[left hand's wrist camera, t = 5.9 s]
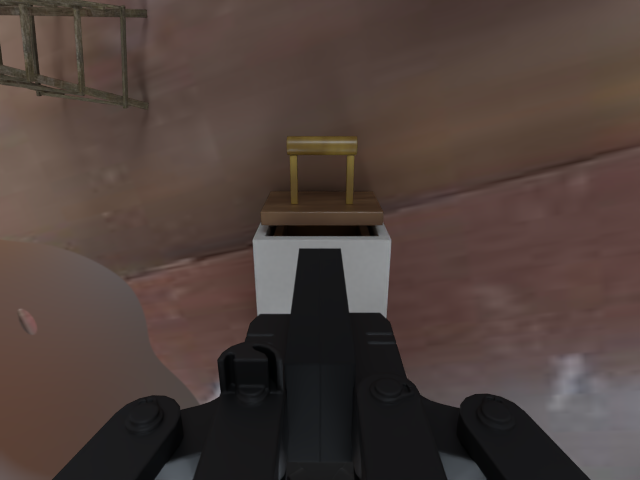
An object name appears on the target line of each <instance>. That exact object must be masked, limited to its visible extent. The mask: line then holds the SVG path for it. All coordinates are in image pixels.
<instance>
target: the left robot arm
mask: <svg viewBox="0 0 640 480" xmlns="http://www.w3.org/2000/svg"><path fill="white" fill-rule="evenodd" d="M217 361H218V370H219V380H220V390H221V394H220V397H218V398H217V399H215V400H213V401H211V402H208V403H205V404H202V405H199V406H195V407H191V408H187V409H182V410H180V406H179V405H178V403H177V402H176V401H175V400H174V399H172V398H169V397H167V396H155V395H152V396H148V397H144V398H139V399H137V400H135V401H133V402H131V403H129V404H127V405H125V406H124V407H123V408H122V409H120V410H119V411H118V412H117V413H115V414H114V416H113V417H112V418H111V419H110V420H109V421H108V422H107V423H106V424H105V425H104V426H103V427H102V428H101V429H100V430H99V431H98V432H97V433H96V434H95V435H94V436H93V437H92V439H91V440H90V441H89V442H88V443H87V444H86V445H85V446H84V447H83V448H82V449H81V450H80V451H79V452H78V453H77V454H76V455H75V456H74V457H73V458H72V459H71V460H70V462H69V463H68V464H67V465H66V466H65V467H64V468H63V469H62V470H61V471H60V472H59V473H58V474H57V475H56V476H55V477H54V478H53V479H52V480H287V470H286V466H287V460H288V462H352V460H353V464H354V470H353V480H590V479H589V478H588V477H587V476H586V475H585V474H584V473H583V471H582V470H581V469H580V468H579V467H578V466H577V465H576V464H575V463H574V462H573V461H572V460H571V459H570V458H569V457H568V456H567V455H566V454H565V453H564V452H563V451H562V450H561V449H560V448H559V447H558V446H557V444H556V443H555V442H554V441H553V440H552V439H551V438H550V437H549V436H548V435H547V434H546V433H545V432H544V431H543V430H542V429H541V428H540V427H539V426H538V425H537V424H536V423H535V422H534V421H533V420H532V419H531V417H530V416H529V415H528V414H527V413H526V412H525V411H524V410H522V409H521V408H520V407H518V406H517V405H516V404H515V403H513V402H511V401H509V400H507V399H505V398H503V397H500V396H495V395H491V394H474V395H472V396H469V397H467V398H465V400H464V401H463V402H462V403H461V404H460V408H456V407H452V406H448V405H444V404H440V403H437V402H434V401H431V400H429V399H427V398H425V397H423V396H421V395H420V393H419V391H418V389H417V388H416V386H415V385H414V384H413V383H412V382H411V381H410V380H408V379H407V377H406V374H405V370H404V367H403V364H402V360H401V357H400V354H399V351H398V347H397V344H396V341H395V337H394V335H393V331H392V327H391V324H390V322H389V321H388V320H387V319H386V318H385V317H384V316H383V315H382V314H381V313H349V306H348V299H347V291H346V284H345V276H344V268H343V261H342V253H341V248H299V253H298V261H297V268H296V276H295V284H294V291H293V299H292V306H291V314H259V315H258V316H257V317H256V318H255V319H254V320H253V321H252V322H251V323H250V326H249V329H248V332H247V337H246V339H245V342H243V343H240V344H237V345H234V346H231V347H230V348H228V349H227V350H225V351H224V352H223V353H222V354H221V355H220V357H219V358H218V360H217Z"/></svg>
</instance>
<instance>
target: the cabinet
mask: <svg viewBox="0 0 640 480" xmlns="http://www.w3.org/2000/svg"><path fill="white" fill-rule="evenodd" d="M276 227H277V225H261V223H260V225H259V227H258V229H257V232H256V234H255V236H254V238H253V254H254V270H255V286H256V302H257V316H258V315H259V314H291V306H292V299H293V291H294V284H295V276H296V268H297V261H298V253H299V248H341V253H342V261H343V268H344V276H345V284H346V291H347V299H348V306H349V313H381V314H382V315H383V316H384V317H385V318H386V315H387V300H388V284H389V268H390V253H391V239H390V236H389V234H388V232H387V230H386V228H385V226H384V223H383V225H382V226H375V225H367V228H368V231H369V234H370V236H274V234H275V230H276Z"/></svg>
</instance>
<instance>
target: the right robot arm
mask: <svg viewBox="0 0 640 480" xmlns="http://www.w3.org/2000/svg"><path fill="white" fill-rule="evenodd" d="M286 470H287V480H353V470H354V464H353V460H352V462H288V460H287V466H286Z"/></svg>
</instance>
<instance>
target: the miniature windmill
mask: <svg viewBox="0 0 640 480" xmlns="http://www.w3.org/2000/svg"><path fill="white" fill-rule="evenodd" d="M33 5H38V6H45V7H33ZM57 6H64V7H71V8H62V7H57ZM82 7H88V8H82ZM105 7H107V8H114V9H105ZM0 15H20V23H21V32H22V41H23V50H24V59H25V68H26V71H24V70H20V69H16V68H12V67H8V66H5V65H3V62H2V54H1V46H0V84H2V85H8V86H16V87H23V88H28V89H31V90H35V91H36V93H37V96H42V95H46V96H53V97H60V98H68V99H75V100H82V101H89V102H97V103H104V104H111V105H119V106H123V108H128V105H130V106H134V107H138V108H142V109H147V110H148V103H146V102H142V101H138V100H134V99H130V98H128V85H127V52H126V19H125V17H147V11H146V10H143V9H125V6H124V5H122V6H115V5H108V4H101V3H95V2H88V1H81V0H0ZM28 16H29V20H28ZM34 16H74V26H75V41H76V55H77V69H78V84H79V85H77V84H73V83H69V82H66V81H62V80H58V79H54V78H50V77H46V76H43V75H40V73H39V63H38V53H37V43H36V33H35V23H34ZM80 16H92V17H120V24H121V54H122V83H123V96H119V95H115V94H111V93H107V92H104V91H100V90H96V89H92V88H88V87H85V80H84V65H83V49H82V34H81V18H80ZM29 25H30V29H29ZM30 35H31V39H30ZM31 45H32V48H31ZM32 54H33V58H32ZM33 64H34V68H33ZM4 74H7V75H4ZM8 75H11V76H8ZM12 76H15V77H12ZM32 82H35V83H32ZM41 83H43V84H47V85H51V86H55V87H59V88H63V89H67V90H61V89H53V88H50V87H46V86H43V85H41ZM68 90H71V91H68ZM64 93H66V94H74V95H81V96H84V94H87V95H91V96H95V97H99V98H103V99H106V100H110V101H103V100H96V99H89V98H81V97H74V96H67V95H64ZM111 101H114V102H111Z"/></svg>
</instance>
